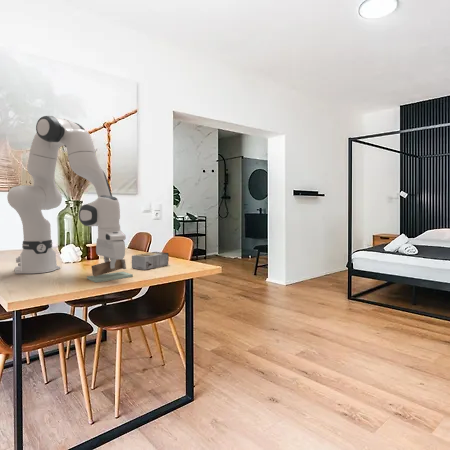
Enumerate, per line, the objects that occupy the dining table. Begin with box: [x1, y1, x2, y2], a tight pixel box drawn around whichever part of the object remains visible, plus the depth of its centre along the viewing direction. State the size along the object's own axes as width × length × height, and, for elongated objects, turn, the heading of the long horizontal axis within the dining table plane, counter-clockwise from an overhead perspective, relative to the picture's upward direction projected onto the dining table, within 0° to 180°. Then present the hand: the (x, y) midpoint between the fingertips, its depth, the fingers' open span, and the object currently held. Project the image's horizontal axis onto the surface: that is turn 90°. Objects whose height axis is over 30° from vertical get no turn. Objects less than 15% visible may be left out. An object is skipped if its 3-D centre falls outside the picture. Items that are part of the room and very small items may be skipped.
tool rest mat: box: [86, 271, 134, 283], centre depth 149 cm, size 9×16×1 cm, turn 132°
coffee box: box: [131, 251, 170, 271], centre depth 175 cm, size 9×6×16 cm
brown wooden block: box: [91, 258, 127, 276], centre depth 148 cm, size 13×6×4 cm, turn 135°
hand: (110, 267), depth 149 cm, fingers closed on brown wooden block, 2 cm apart
